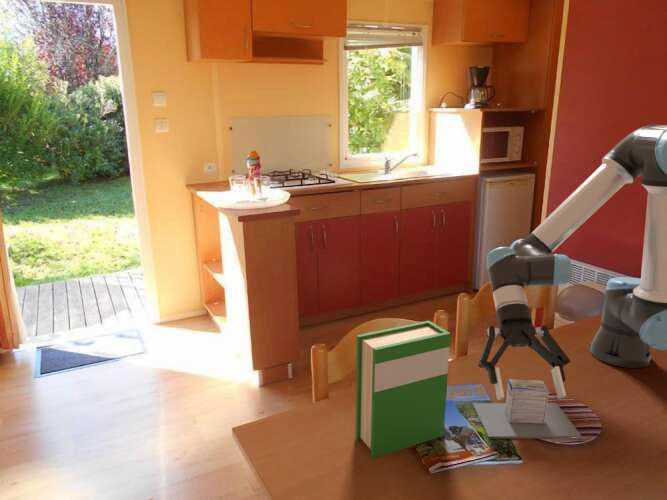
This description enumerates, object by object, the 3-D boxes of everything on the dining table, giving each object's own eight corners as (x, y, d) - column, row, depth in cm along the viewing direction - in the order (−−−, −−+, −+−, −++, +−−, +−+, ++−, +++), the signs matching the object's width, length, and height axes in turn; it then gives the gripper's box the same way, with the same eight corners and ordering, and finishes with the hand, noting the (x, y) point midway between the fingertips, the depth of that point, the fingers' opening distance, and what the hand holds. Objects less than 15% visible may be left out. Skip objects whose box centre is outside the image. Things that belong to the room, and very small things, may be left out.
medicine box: (539, 413, 119) (543, 380, 117) (545, 425, 115) (549, 390, 113) (504, 412, 120) (507, 378, 118) (508, 423, 116) (512, 388, 114)
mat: (556, 404, 124) (556, 403, 124) (581, 438, 112) (581, 436, 111) (472, 405, 124) (472, 403, 124) (488, 438, 111) (488, 436, 111)
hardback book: (372, 458, 105) (375, 349, 99) (355, 438, 111) (356, 335, 105) (443, 436, 112) (450, 333, 106) (423, 418, 119) (428, 320, 112)
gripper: (556, 313, 128) (579, 400, 117) (456, 315, 127) (470, 403, 116) (569, 301, 121) (595, 392, 111) (464, 302, 120) (479, 394, 110)
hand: (531, 398), depth 114 cm, fingers open, 13 cm apart
